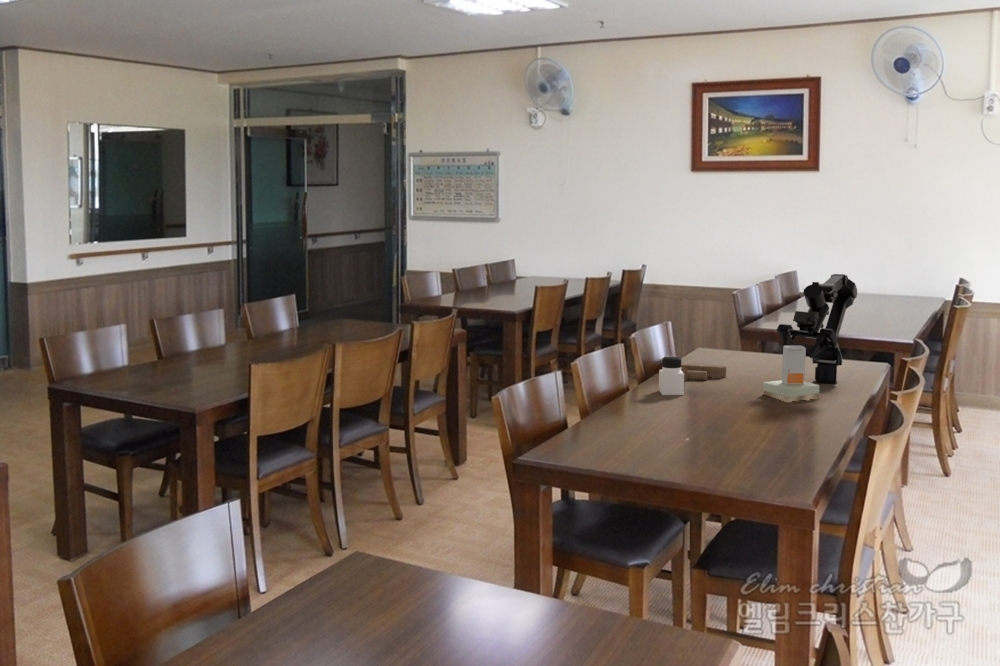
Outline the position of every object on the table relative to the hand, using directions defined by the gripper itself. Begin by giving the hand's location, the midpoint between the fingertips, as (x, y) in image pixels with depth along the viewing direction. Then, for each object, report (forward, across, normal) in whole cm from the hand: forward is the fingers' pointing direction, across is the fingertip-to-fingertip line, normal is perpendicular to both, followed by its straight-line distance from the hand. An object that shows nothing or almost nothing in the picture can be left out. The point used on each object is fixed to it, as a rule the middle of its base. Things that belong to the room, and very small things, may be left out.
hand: (796, 355), depth 298 cm
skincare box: (+8, 0, +4) cm, 9 cm away
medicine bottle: (+26, -31, -8) cm, 41 cm away
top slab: (+10, 0, +6) cm, 11 cm away
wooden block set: (+10, -36, +9) cm, 39 cm away
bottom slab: (+12, 0, +7) cm, 14 cm away
